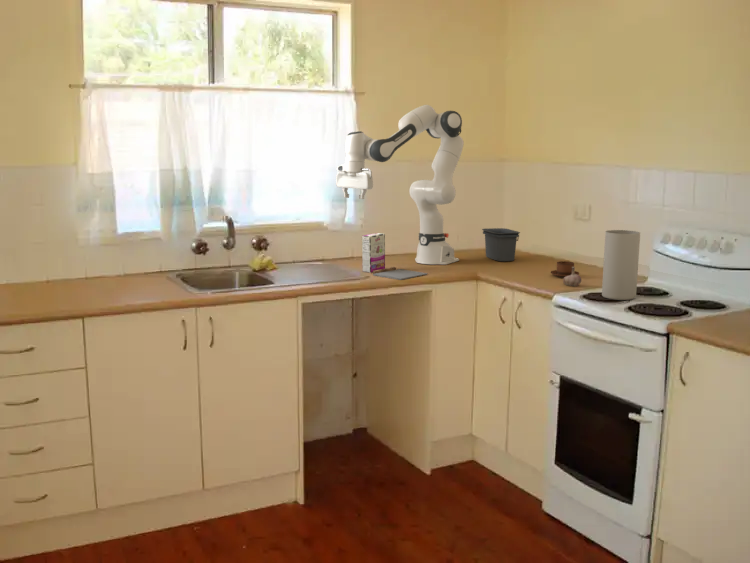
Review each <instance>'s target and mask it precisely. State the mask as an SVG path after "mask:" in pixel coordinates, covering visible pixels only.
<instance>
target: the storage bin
mask: <svg viewBox="0 0 750 563" xmlns="http://www.w3.org/2000/svg"><path fill="white" fill-rule="evenodd" d="M481 231H482V235H484V242H485V243H484V244H485V257H486V258H488V259H491V260H494V261H497V262H513V261H515V257H516V247H517V241H518V242H519V238H520V233H521V232H520V231H518V230H514V229H509V228H505V227H504V228H502V227H501V228H498V227H497V228H493V227H492V228H482V229H481Z"/></svg>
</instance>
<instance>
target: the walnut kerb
mask: <svg viewBox="0 0 750 563" xmlns="http://www.w3.org/2000/svg"><path fill="white" fill-rule="evenodd" d="M392 270H397V267H395V266H391V267H385V269H380V270H375V271H373V272H372V275H373V274H375V273H381V272H386V271H392Z"/></svg>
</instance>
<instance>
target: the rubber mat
mask: <svg viewBox="0 0 750 563" xmlns="http://www.w3.org/2000/svg"><path fill="white" fill-rule="evenodd" d="M427 274H428V275H429V273H428V272H423V271H421V272H420V271H415V270H408V269H402V268H396V270H392V271H386V272H381V273H375V274H373V273H372V276H375V277H380V278H388V279H393V280H398V281H402V280H407V279H413V278H416V277H417V276H419V277H423V276H422V275H424V276H428V275H427ZM417 278H418V277H417Z"/></svg>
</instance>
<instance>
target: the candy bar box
mask: <svg viewBox="0 0 750 563" xmlns="http://www.w3.org/2000/svg"><path fill="white" fill-rule="evenodd" d="M385 236H386V234H385V233H383V232H382V233H380V232H377V233H376V232H375V233H371V234H370V233H369V234H365V235H362V236H361V242H362V243H361V251H362V252H361V253H362V255H361V256H362V261H361V262H362V268H361V269H362V273H363V272H364V273H373V271H375V270H380V269H386V237H385Z"/></svg>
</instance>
